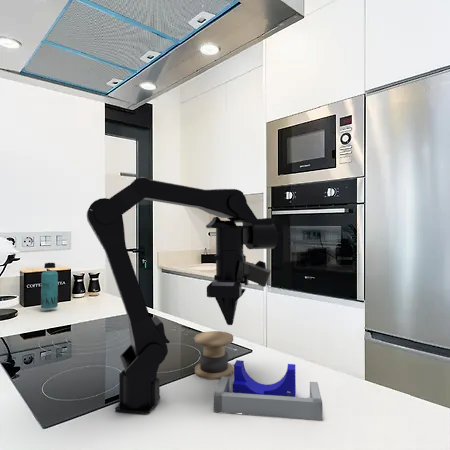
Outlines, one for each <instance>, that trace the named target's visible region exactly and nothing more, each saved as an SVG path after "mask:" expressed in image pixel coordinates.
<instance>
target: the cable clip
mask: <svg viewBox="0 0 450 450" xmlns="http://www.w3.org/2000/svg"><path fill="white" fill-rule="evenodd" d="M245 367H246V366H245V361H244V360H239V359H237V360H235V363H234V365H233V382H232V393H243V394H258V395H273V396H288V397H297V396H296V395H297V392H296V391H297V389H296V387H297V385H296V364H294V363H287V366H286V367H287V369H286V372H285V374H284V375H283V377H281V379H280V380H278V381H277V382H274V383H271V384H266V383H265V384H264V383H260V382H258V381H256V380H255V379H253V378H252V377H251V376H250V375H249V373H248V372H247V370H246V368H245Z"/></svg>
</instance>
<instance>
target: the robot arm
mask: <svg viewBox="0 0 450 450" xmlns="http://www.w3.org/2000/svg"><path fill="white" fill-rule="evenodd" d="M143 200H147V201H152V202H158V203H165V204H169V205H170V204H171V205H175V206H182V207H188V208H195V209H199V210H201V211H203V212H205V213H207V214H210V215H213V216H214V217H212V219H211V220H210V222H208V223H206V225H205V228H206V229H215V255H213V260H214V261H215V274H214V277H213V278H214V279H213V281H211V282H210V283H209V284H208V285H207V286H206V297H207V298H214V299H215V301H216V302H217V305H218V307H219V309H220V311H221V314H222V316H223V319H224V320H225V322H226V324H227V326H233V324H234V320H235V315H236V311H237V305H238V300H239V299H240V298H241V297H242V296H243V295H244V294H245V292H246V290H247V289H246V288H243V287H242V284H244V286H248V285H249V282H253V283H255V284H258V286H259V287H264V288H265V287H266V286H267V283H268V281H269V278H270V274H271V271H272V270H271V269H270V268H267V266H266V265H267V264H266V262H264V261H262V260H258V261H257V262H256V263H254V262H249V261H247V256H246V255H245V253H244V246H245V247H246V249H248V250H269V249H271V250H272V249H275V248H276V247H277V245H278V241H279V232H278V229H277V227H276V225H275V224H274V219H273V218H272V217H266V218H265V217H264V218H257V216H256V215H255V213H254V212H253V210H252V209H251V207H250V206H249V205H248V201H247V198H246V196H245V194H244V191H241V190H239V189H237V188H236V189H235V188H218V189H217V188H215V189H202V188H198V187H193V186H186V185H182V184H177V183H170V182H165V181H162V180H161V181H160V180H155V179H150V178H148V177H147V176H146V177H145V176H139V177H137V178H135V179H134V180H133V181H132V182H131V183H130V184H129V185H127V186H126V187H124V188H123V189H121V190H120V191H118V192H117V193H115V194H114V195H113V196H111V197H109V198H107V197H105V198H104V197H103V198H102V197H101V198H98V199H95V200H94V201H93V202H92V203H91V204H90V205H89V208H88V210H86V211H87V212H86V219H87V222H88V225H89V226H90V228H91V230H92V231H93V233H94V235H95V236H96V239H97V240H98V242H99V243H100V246H102V249H103V250H104V253H105V255H106V258H107V261H108V263H109V267H110V270H111V272H112V273H111V274H112V275H113V278H114V280H115V283H116V287H117V291H118V293H119V295H120V298H121V301H122V304H123V307H124V309H125V312H126V316H127V321H128V330H129V333H128V334H129V339H130V344H129V346H128V347H127V348H126V349H125V350H124V351H123V352H122V353H121V354H120V356H119V358H120V361H121V364H122V368H123V370H122V371H121V372H119V374H118V375H119V379H118V381H119V382H118V383H119V388H118V389H119V390H118V393H119V394H118V396H119V398H118V399H119V401H118V404H117V405H116V406H115V408H114V411H115V412H116V413H117V412H118V413H119V412H120V413H121V412H122V413H130V414H142V415H143V414H144V415H148V414H150V413H151V411H152V410H153V409H154V407H155V406H156V405H157V403H158V402H159V401H160V399H161V395H160V392H161V390H160V387H161V386H160V381H161V380H160V378H159V377H158V370H159V368H160V366H161V364H162V363H163V362H164V361H165V359H166V357H167V355H168V352H169V351H168V350H169V349H168V344H170V343H171V341H170V340H169V339H168V338H167V336H166V331H165V326H164V322H162V320H161V319H160V318H159V317H158V316H157V315H154V316H153V317H151V315H150V313H149V310H148V307H147V304H146V302H145V298H144V296H143V292H142V290H141V287H140V284H139V281H138V280H139V279H138V278H137V274H136V272H135V268H134V266H133V263H132V260H131V257H130V253H129V250H128V249H127V245H126V235H125V224H124V217H123V215H124V214H125V213H126V212H128V211H129V210H130V209H132V208H134V207H135V206H136V205H137V204H139V203H140V202H141V201H143ZM222 219H227V220H222ZM237 223H239V224H240V223H242V225H237Z"/></svg>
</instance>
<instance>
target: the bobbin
mask: <svg viewBox="0 0 450 450" xmlns="http://www.w3.org/2000/svg"><path fill="white" fill-rule="evenodd" d="M233 341H234V335H233V334H232V333H229V332H227V331H219V330H216V331H215V330H213V331H212V330H211V331H210V330H209V331H202V332H200V333H197V334H196V335H195V336H194V343H196V344H197V345H199V346H200V345H201V346H203V347H202V350H203V351H201V352H200V357H199V360H200V363H197V364H196V365H195V366H194V373H195V376H198V377H199V378H201V379H207V380H220V379H221V377H222V376H225V377H230V376H232V375H234V365H233V364H232V363H229V356H228V355H229V353H228V352H227V350H226V347H225V346H226V345H230V344H232V342H233Z"/></svg>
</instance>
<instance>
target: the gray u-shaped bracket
mask: <svg viewBox="0 0 450 450" xmlns="http://www.w3.org/2000/svg"><path fill="white" fill-rule="evenodd" d="M322 399H323V398H322V395H321V391H320V387H319V383H318V381H309V397H301V396H300V397H299V396H296V397H288V396H273V395H258V394H243V393H233V392H230V376H228V377H225V376H222V377H221V379H219V382H218V384H217V386H216V388H215V391H214V394H213V413H218V412H223V413H222V414H232V413H242V414H241V415H245V414H251V415H250V416H258V415H260V416H259V417H270V418H271V417H274V418H287V419H296V420H297V419H298V420H312V421H323V415H324V414H323V400H322ZM224 412H226V413H224Z"/></svg>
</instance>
